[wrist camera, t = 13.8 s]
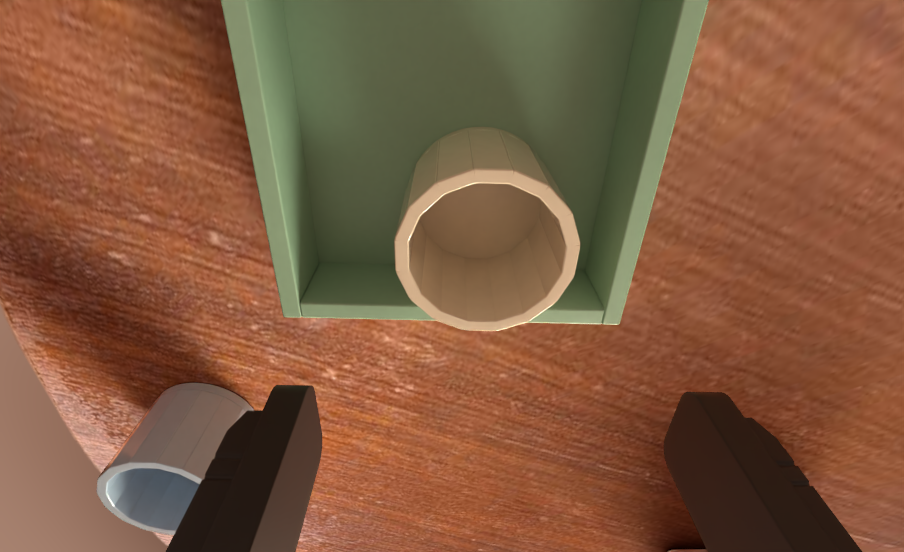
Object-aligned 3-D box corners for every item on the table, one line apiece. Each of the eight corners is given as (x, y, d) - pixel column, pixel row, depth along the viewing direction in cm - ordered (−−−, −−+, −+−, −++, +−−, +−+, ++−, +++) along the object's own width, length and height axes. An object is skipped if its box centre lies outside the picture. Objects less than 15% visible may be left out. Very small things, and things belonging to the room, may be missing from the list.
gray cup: (171, 451, 31) (121, 534, 26) (140, 381, 27) (76, 461, 23) (268, 453, 31) (236, 536, 26) (249, 383, 27) (208, 463, 23)
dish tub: (308, 269, 23) (282, 317, 20) (239, -180, 15) (172, -235, 11) (594, 276, 24) (619, 325, 20) (692, -160, 15) (767, -208, 11)
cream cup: (408, 259, 22) (397, 329, 18) (405, 124, 19) (390, 165, 14) (539, 262, 22) (563, 333, 18) (559, 128, 19) (595, 172, 14)
